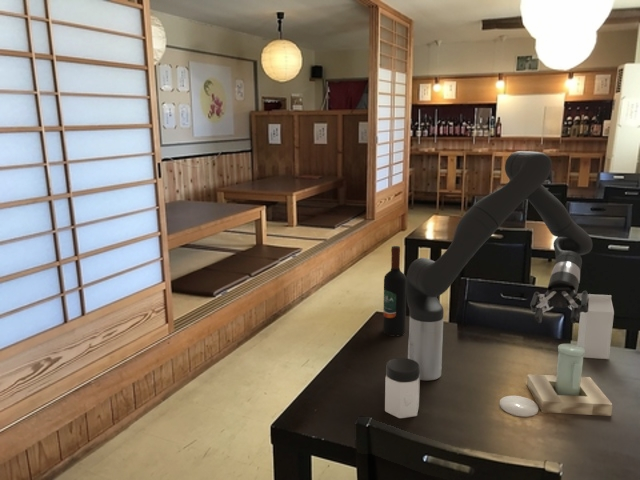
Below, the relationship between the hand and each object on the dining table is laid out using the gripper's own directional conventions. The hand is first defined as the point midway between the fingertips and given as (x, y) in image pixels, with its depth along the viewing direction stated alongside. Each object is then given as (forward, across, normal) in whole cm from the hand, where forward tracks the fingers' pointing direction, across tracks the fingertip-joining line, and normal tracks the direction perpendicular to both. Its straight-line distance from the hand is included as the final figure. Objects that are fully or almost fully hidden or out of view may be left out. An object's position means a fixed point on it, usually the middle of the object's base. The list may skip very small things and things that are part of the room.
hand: (555, 321), depth 137 cm
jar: (+37, -29, -5) cm, 48 cm away
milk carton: (-15, +2, +30) cm, 33 cm away
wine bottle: (-3, -55, +10) cm, 56 cm away
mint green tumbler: (+14, +2, +14) cm, 20 cm away
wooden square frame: (+14, +2, +14) cm, 20 cm away
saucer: (+23, -7, +7) cm, 25 cm away
